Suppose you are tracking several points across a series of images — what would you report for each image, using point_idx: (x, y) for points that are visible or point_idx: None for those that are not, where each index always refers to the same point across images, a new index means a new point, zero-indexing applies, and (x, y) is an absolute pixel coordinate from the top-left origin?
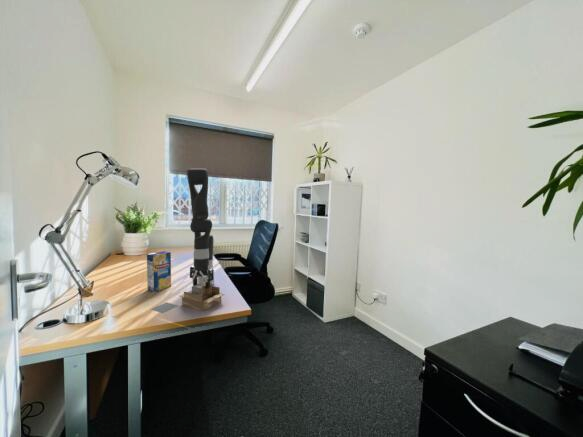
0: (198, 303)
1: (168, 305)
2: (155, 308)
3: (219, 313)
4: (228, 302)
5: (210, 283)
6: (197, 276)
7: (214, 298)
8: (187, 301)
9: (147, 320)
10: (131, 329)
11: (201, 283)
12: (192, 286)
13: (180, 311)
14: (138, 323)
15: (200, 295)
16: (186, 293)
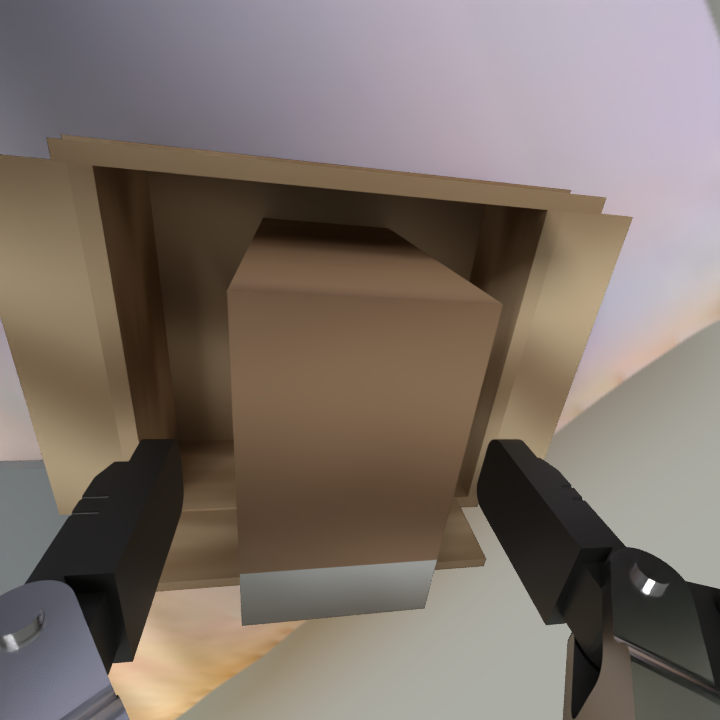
0: None
1: (38, 503)
2: (2, 577)
3: (581, 400)
4: (588, 160)
5: (488, 353)
6: (103, 700)
7: (553, 391)
8: None
9: (158, 648)
10: (186, 707)
11: (277, 448)
12: (248, 618)
13: None
14: (148, 678)
15: (465, 565)
16: (206, 571)
